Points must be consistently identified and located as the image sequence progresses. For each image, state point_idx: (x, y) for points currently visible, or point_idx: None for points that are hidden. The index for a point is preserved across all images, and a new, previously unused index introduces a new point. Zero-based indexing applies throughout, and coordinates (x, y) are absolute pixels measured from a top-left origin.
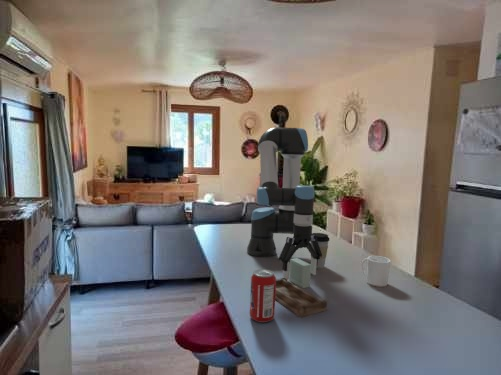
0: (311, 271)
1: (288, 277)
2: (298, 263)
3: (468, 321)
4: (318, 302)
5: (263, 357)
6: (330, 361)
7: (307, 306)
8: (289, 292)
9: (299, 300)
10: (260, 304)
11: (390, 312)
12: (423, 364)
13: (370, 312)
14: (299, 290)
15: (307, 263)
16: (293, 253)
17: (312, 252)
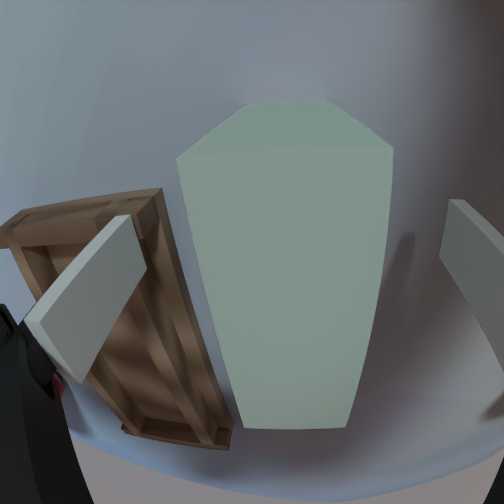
0: (455, 226)
1: (135, 280)
2: (227, 370)
3: (459, 464)
4: (195, 444)
5: None
6: (146, 463)
7: (148, 438)
8: (133, 324)
9: (155, 383)
10: None
11: (392, 453)
12: (271, 494)
13: (348, 450)
14: (165, 380)
15: (341, 404)
16: (82, 499)
17: (501, 469)
